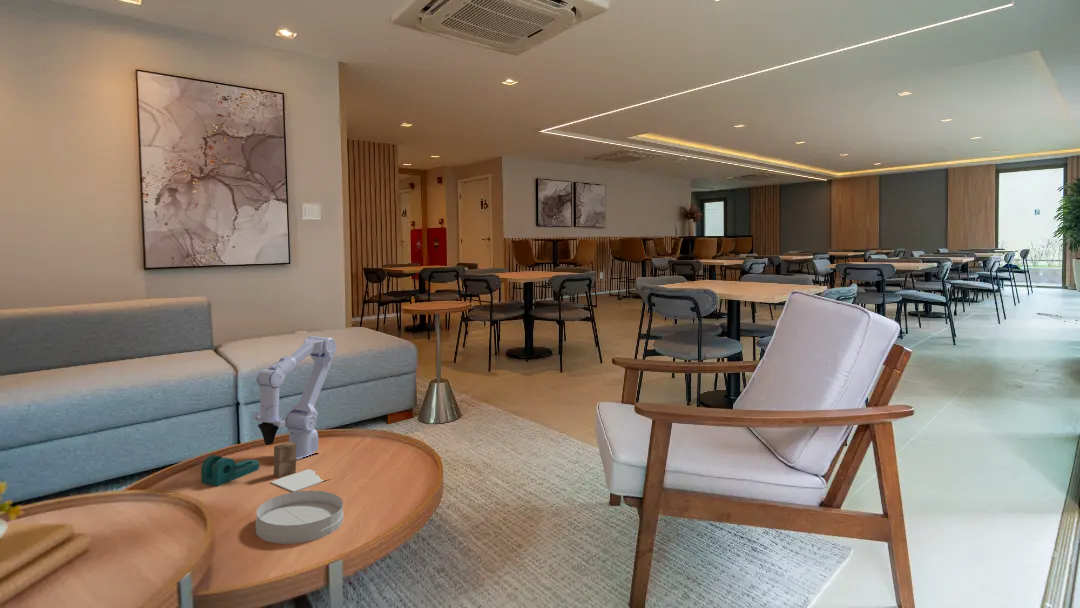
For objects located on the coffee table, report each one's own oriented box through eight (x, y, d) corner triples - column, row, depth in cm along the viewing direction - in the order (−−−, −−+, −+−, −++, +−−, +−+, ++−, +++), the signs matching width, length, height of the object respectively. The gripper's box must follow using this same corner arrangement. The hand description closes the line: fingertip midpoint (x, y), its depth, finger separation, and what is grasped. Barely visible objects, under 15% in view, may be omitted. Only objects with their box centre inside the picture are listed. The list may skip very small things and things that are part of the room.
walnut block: (290, 470, 189) (290, 441, 189) (295, 472, 188) (296, 443, 187) (273, 475, 184) (274, 446, 183) (279, 478, 183) (279, 448, 182)
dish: (317, 500, 168) (318, 484, 168) (359, 524, 154) (359, 507, 154) (240, 524, 151) (240, 506, 151) (279, 554, 137) (279, 534, 137)
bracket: (217, 487, 174) (217, 462, 173) (201, 483, 176) (201, 458, 175) (263, 468, 191) (263, 445, 190) (248, 464, 193) (248, 442, 192)
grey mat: (309, 470, 190) (309, 469, 190) (332, 478, 184) (332, 477, 184) (270, 482, 178) (270, 481, 178) (293, 492, 172) (293, 491, 172)
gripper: (245, 403, 189) (245, 442, 190) (271, 410, 182) (270, 451, 183) (265, 399, 195) (264, 437, 196) (291, 406, 188) (290, 446, 189)
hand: (269, 444), depth 190 cm, fingers closed
